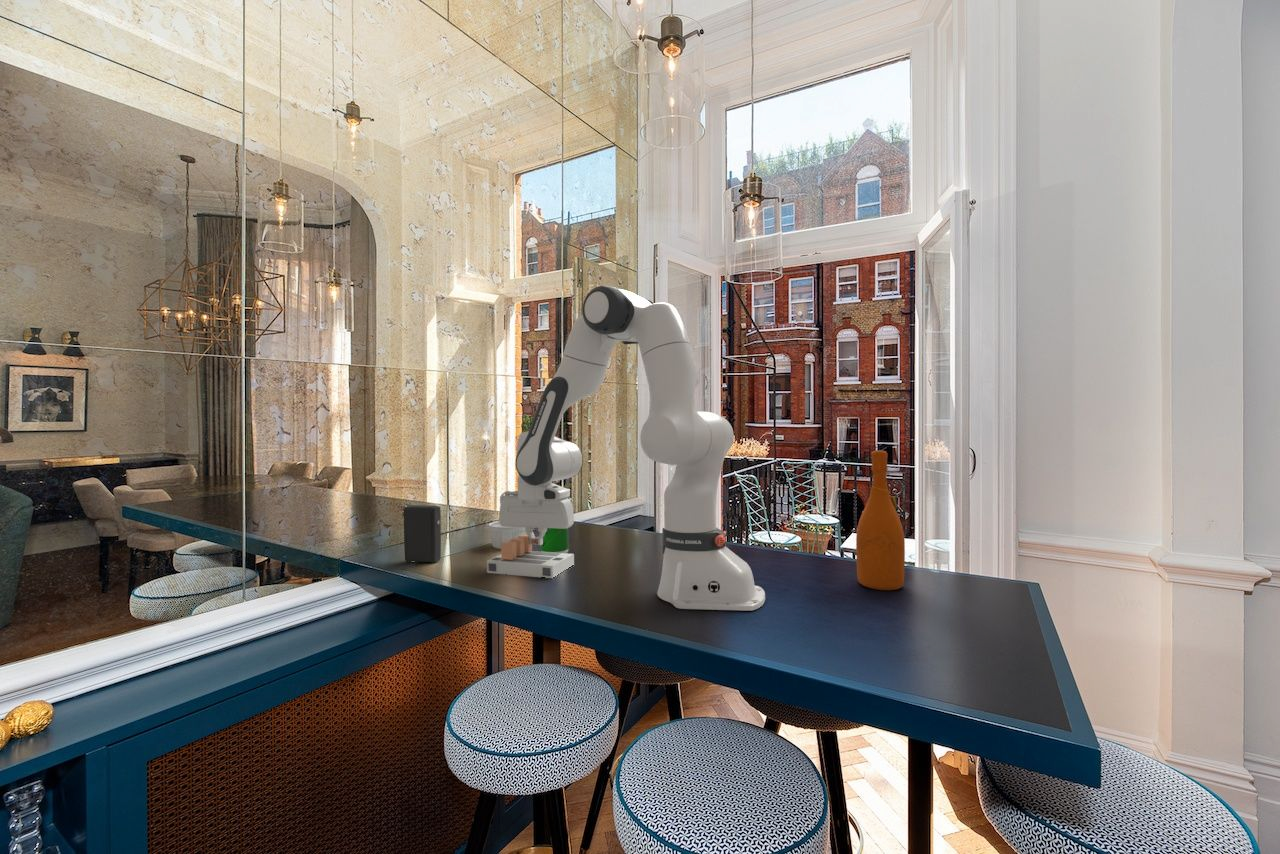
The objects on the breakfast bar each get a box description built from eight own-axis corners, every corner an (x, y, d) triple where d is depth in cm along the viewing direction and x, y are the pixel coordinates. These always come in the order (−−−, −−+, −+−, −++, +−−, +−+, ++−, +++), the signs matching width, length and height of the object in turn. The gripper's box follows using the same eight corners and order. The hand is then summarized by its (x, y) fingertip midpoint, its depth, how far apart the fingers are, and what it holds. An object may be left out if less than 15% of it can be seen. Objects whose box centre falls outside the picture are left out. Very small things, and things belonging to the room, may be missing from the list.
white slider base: (574, 565, 140) (574, 553, 140) (552, 578, 128) (552, 565, 128) (512, 560, 145) (512, 549, 145) (486, 573, 134) (486, 560, 134)
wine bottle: (908, 593, 114) (907, 451, 114) (857, 589, 117) (856, 451, 117) (901, 580, 123) (900, 449, 123) (855, 577, 127) (854, 449, 126)
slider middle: (524, 554, 139) (524, 538, 138) (520, 555, 137) (520, 540, 137) (514, 553, 139) (514, 537, 139) (510, 555, 138) (509, 539, 137)
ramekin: (490, 542, 169) (490, 519, 169) (534, 540, 171) (533, 518, 171) (486, 552, 156) (486, 528, 156) (533, 549, 158) (533, 525, 158)
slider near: (516, 557, 135) (516, 541, 135) (512, 559, 133) (511, 543, 133) (505, 557, 136) (505, 541, 136) (501, 559, 134) (501, 542, 134)
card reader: (443, 560, 147) (442, 504, 147) (435, 564, 143) (434, 507, 143) (411, 559, 148) (411, 504, 148) (403, 563, 144) (402, 506, 144)
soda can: (571, 551, 155) (570, 509, 155) (564, 558, 147) (564, 514, 147) (545, 551, 156) (544, 509, 155) (537, 558, 148) (537, 514, 148)
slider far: (532, 550, 142) (531, 535, 142) (528, 552, 140) (528, 536, 140) (522, 549, 143) (521, 534, 143) (518, 551, 141) (517, 536, 141)
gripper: (493, 492, 141) (494, 545, 141) (565, 493, 135) (566, 548, 135) (506, 489, 147) (507, 540, 147) (575, 490, 141) (577, 543, 141)
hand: (536, 544), depth 141 cm, fingers closed
